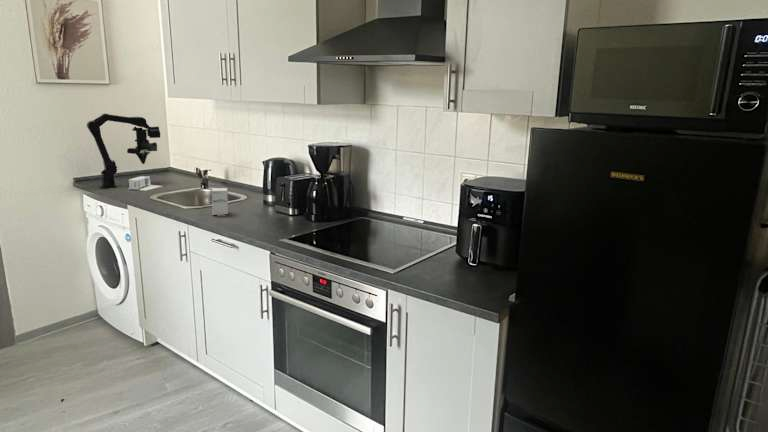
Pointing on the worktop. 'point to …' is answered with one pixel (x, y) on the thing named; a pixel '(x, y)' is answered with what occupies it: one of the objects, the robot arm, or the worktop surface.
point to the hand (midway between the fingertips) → (143, 163)
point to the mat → (148, 187)
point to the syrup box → (139, 182)
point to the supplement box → (219, 201)
